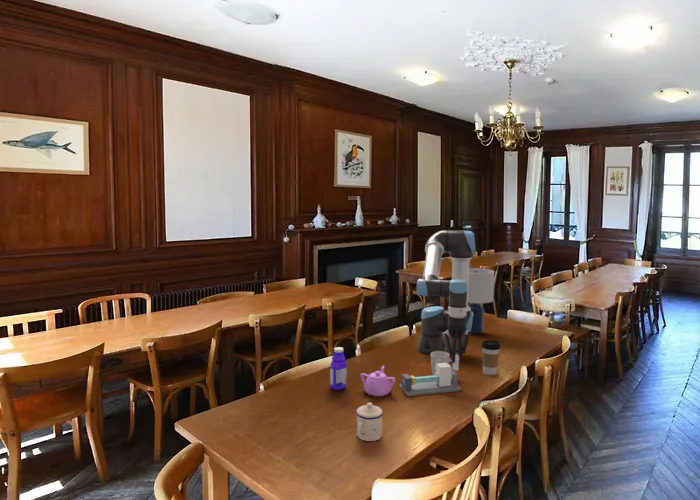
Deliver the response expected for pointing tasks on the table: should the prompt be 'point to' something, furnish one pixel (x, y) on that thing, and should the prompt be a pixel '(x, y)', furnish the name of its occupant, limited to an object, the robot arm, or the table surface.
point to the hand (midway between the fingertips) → (455, 369)
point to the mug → (439, 359)
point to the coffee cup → (490, 356)
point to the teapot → (377, 383)
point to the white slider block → (443, 374)
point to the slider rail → (427, 385)
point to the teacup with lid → (369, 422)
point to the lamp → (479, 295)
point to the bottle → (338, 369)
